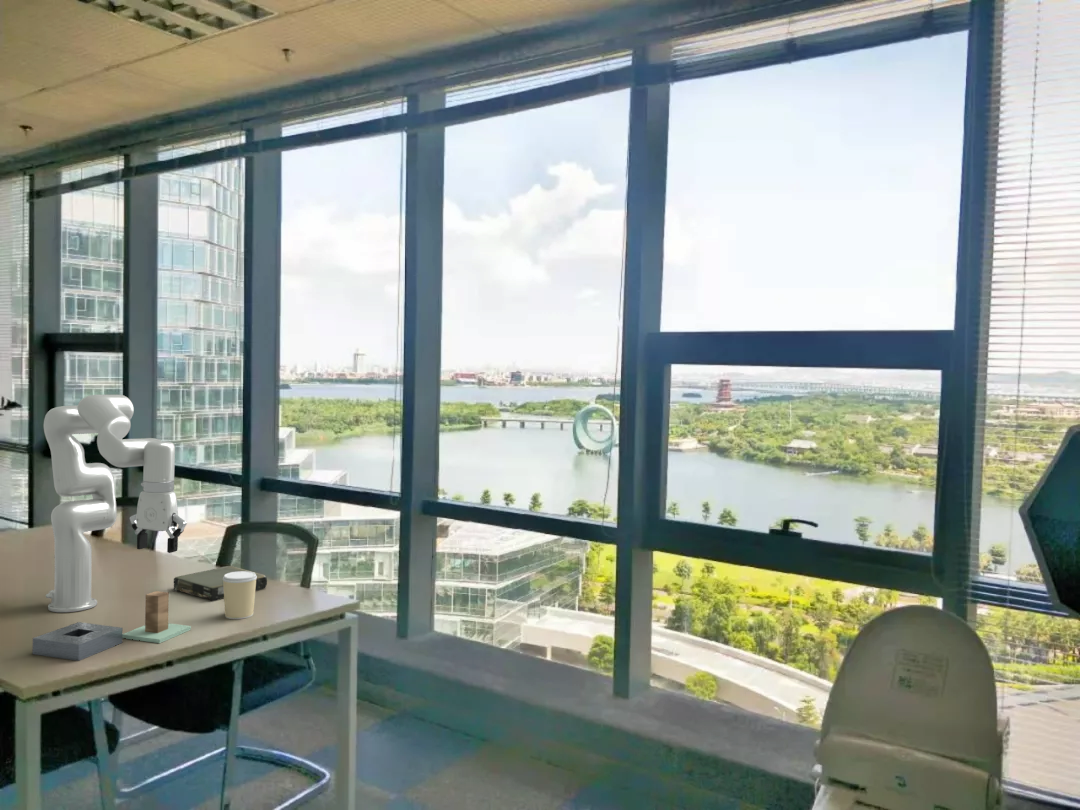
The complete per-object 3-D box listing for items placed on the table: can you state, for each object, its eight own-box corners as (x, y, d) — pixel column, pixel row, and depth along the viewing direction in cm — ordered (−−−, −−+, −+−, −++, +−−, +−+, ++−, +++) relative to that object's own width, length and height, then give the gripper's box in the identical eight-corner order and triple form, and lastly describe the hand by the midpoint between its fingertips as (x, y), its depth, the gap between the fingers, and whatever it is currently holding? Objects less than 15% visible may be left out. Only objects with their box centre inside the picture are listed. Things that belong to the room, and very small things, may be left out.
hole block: (32, 654, 199) (32, 638, 199) (78, 636, 213) (78, 622, 212) (78, 660, 195) (78, 644, 195) (122, 642, 209) (122, 627, 209)
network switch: (165, 593, 258) (165, 577, 258) (224, 578, 278) (224, 563, 278) (216, 604, 247) (216, 588, 247) (274, 588, 268) (274, 573, 268)
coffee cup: (260, 610, 240) (261, 571, 240) (250, 620, 231) (250, 579, 231) (228, 610, 240) (229, 570, 240) (217, 619, 231) (218, 578, 230)
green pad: (121, 638, 213) (121, 634, 213) (154, 625, 224) (154, 621, 224) (159, 643, 210) (159, 639, 210) (190, 629, 221) (190, 626, 221)
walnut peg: (145, 631, 215) (145, 594, 215) (155, 627, 219) (156, 591, 219) (157, 633, 214) (158, 596, 214) (168, 628, 218) (168, 592, 218)
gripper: (121, 486, 214) (119, 549, 215) (176, 491, 210) (174, 556, 211) (142, 483, 221) (140, 544, 222) (195, 488, 217) (193, 550, 218)
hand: (157, 550), depth 216 cm, fingers open, 9 cm apart
